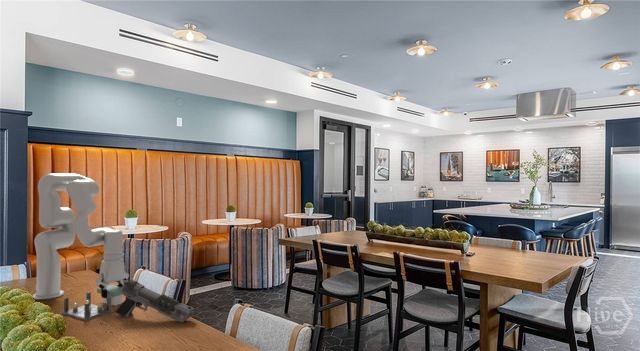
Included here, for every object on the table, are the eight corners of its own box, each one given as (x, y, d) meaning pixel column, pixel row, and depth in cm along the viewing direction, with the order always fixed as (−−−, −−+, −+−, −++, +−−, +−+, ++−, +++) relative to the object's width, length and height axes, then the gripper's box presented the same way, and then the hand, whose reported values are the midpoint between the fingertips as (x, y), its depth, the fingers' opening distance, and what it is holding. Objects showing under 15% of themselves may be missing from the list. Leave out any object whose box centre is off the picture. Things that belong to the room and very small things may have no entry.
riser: (103, 302, 183) (103, 293, 183) (111, 300, 186) (111, 291, 186) (114, 305, 179) (114, 295, 179) (122, 303, 182) (122, 293, 182)
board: (96, 292, 182) (97, 288, 182) (111, 288, 189) (111, 284, 189) (113, 296, 177) (113, 292, 177) (127, 292, 183) (127, 288, 183)
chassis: (62, 313, 168) (62, 298, 168) (90, 305, 178) (90, 291, 178) (84, 320, 160) (84, 304, 160) (112, 311, 171) (112, 296, 171)
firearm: (179, 344, 158) (190, 309, 157) (111, 311, 164) (121, 277, 164) (184, 340, 162) (196, 306, 161) (117, 308, 168) (128, 275, 168)
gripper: (125, 253, 192) (124, 289, 192) (89, 259, 177) (88, 299, 177) (135, 254, 188) (134, 292, 188) (99, 261, 173) (99, 302, 173)
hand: (112, 295), depth 183 cm, fingers closed on board, 7 cm apart
